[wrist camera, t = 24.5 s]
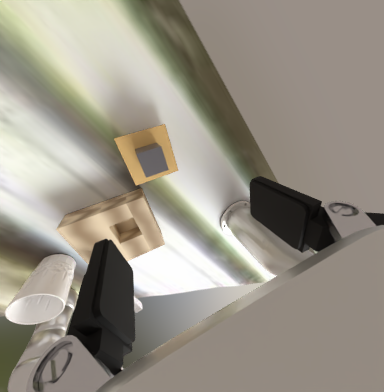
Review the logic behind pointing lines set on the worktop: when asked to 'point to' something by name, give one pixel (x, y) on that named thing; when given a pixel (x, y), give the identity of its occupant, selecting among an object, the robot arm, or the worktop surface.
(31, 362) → the plastic bottle
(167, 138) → the plug
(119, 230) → the socket block
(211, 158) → the worktop surface
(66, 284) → the white cup
